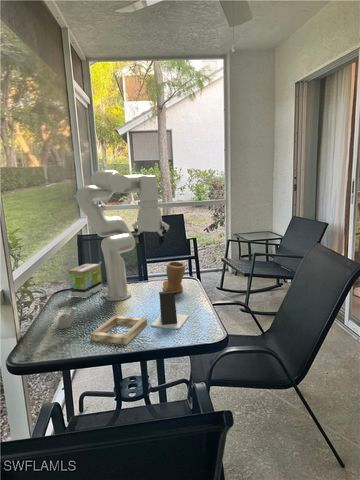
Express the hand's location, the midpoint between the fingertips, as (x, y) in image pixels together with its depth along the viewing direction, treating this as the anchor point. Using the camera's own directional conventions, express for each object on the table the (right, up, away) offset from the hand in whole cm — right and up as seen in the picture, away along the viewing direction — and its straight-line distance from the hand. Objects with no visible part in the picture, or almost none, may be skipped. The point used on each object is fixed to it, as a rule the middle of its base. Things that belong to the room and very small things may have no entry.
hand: (151, 243), depth 144 cm
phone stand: (+8, -31, -9) cm, 33 cm away
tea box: (-37, -27, +32) cm, 56 cm away
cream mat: (+9, -32, -9) cm, 34 cm away
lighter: (-33, -34, -8) cm, 48 cm away
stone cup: (+10, -25, +29) cm, 39 cm away
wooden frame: (-11, -34, -16) cm, 39 cm away
